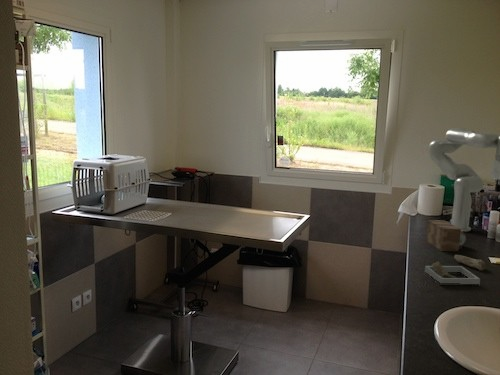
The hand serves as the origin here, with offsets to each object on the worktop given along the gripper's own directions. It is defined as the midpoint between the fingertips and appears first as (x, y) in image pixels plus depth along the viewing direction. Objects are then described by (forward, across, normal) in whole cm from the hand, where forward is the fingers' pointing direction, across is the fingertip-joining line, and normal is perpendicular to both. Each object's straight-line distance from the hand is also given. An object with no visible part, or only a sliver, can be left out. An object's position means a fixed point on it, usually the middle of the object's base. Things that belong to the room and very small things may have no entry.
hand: (498, 191), depth 251 cm
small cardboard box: (+27, +13, -34) cm, 45 cm away
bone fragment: (+28, +43, -37) cm, 63 cm away
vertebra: (+28, +58, -57) cm, 86 cm away
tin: (+27, +13, -31) cm, 43 cm away
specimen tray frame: (+27, +58, -54) cm, 84 cm away
